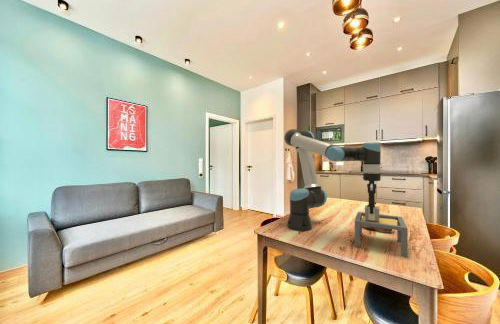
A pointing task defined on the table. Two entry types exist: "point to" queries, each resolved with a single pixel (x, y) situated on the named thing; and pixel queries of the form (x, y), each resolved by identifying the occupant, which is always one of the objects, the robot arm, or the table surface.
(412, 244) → the table surface
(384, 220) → the hatch
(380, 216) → the frame
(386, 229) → the rock
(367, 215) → the grey cube
